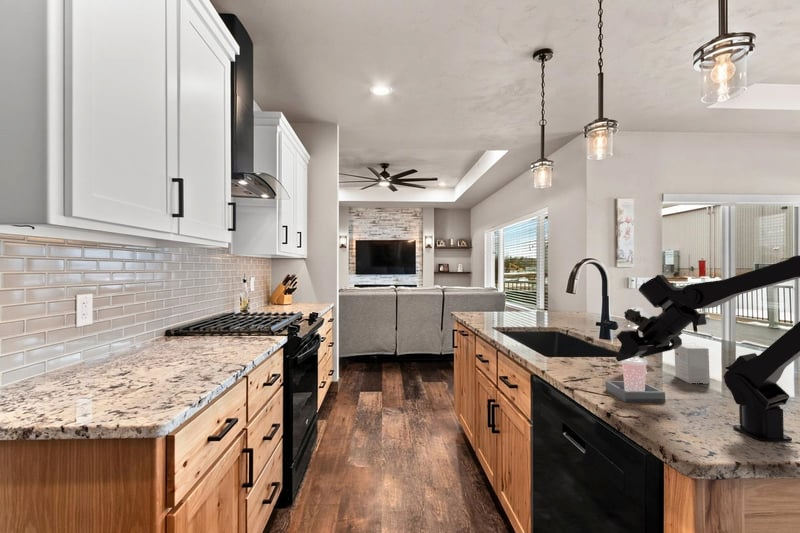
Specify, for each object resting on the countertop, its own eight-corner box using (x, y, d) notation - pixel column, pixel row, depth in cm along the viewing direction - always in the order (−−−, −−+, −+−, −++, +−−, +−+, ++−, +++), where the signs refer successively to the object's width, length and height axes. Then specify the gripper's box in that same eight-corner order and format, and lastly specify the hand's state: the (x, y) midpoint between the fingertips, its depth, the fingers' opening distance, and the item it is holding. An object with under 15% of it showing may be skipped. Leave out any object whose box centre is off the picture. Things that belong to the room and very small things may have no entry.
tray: (665, 402, 97) (665, 392, 97) (625, 402, 98) (625, 392, 98) (642, 389, 107) (641, 380, 107) (605, 389, 108) (605, 381, 108)
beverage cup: (632, 388, 106) (631, 337, 106) (653, 394, 101) (652, 341, 101) (616, 390, 104) (615, 339, 104) (637, 398, 98) (636, 343, 98)
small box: (710, 384, 111) (709, 348, 111) (688, 383, 112) (687, 348, 112) (694, 377, 119) (694, 343, 119) (674, 376, 120) (674, 342, 120)
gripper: (668, 296, 103) (630, 331, 113) (623, 299, 95) (585, 336, 105) (702, 329, 96) (658, 363, 106) (656, 335, 88) (612, 372, 98)
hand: (628, 358), depth 104 cm, fingers open, 9 cm apart
